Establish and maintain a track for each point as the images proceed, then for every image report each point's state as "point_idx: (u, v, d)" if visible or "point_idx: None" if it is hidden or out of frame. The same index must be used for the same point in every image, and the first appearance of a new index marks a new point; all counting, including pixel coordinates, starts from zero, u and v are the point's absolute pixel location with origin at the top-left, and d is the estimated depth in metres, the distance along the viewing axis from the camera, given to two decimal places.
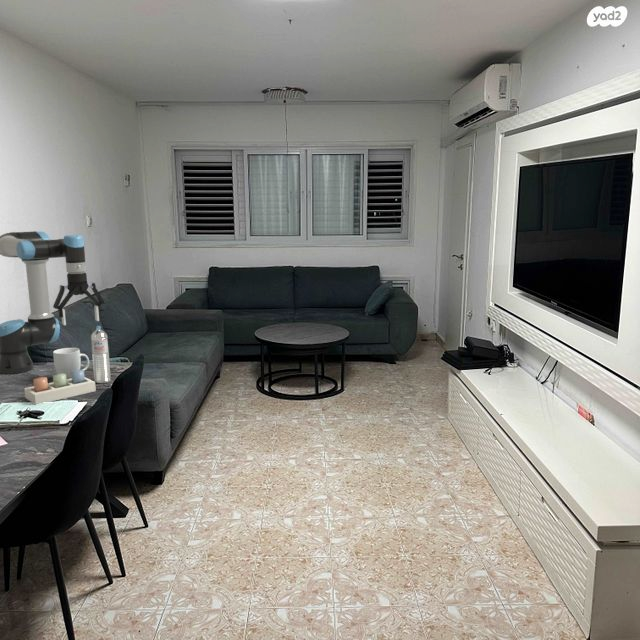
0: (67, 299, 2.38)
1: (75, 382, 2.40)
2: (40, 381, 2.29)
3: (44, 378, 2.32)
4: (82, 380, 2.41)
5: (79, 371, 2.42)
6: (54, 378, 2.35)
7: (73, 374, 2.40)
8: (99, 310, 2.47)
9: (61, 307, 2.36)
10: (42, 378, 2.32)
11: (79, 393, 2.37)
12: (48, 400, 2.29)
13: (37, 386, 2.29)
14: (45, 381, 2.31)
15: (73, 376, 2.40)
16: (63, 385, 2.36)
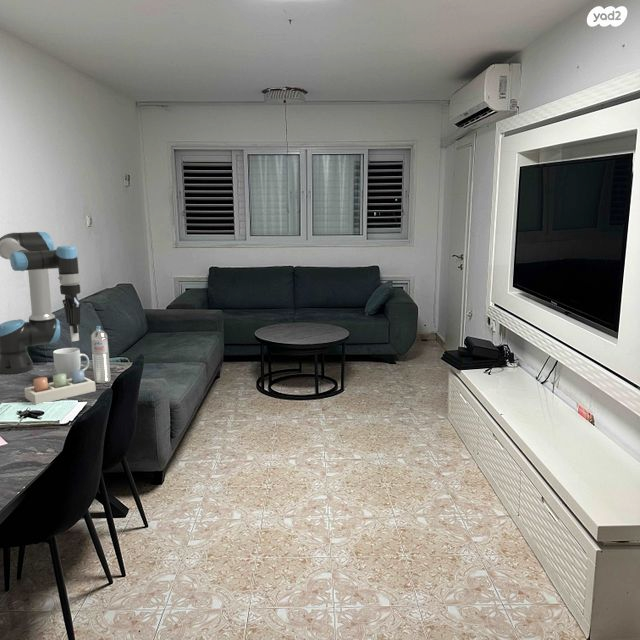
0: (68, 313, 2.37)
1: (75, 382, 2.40)
2: (40, 381, 2.29)
3: (44, 378, 2.32)
4: (82, 380, 2.41)
5: (79, 371, 2.42)
6: (54, 378, 2.35)
7: (73, 374, 2.40)
8: (73, 331, 2.37)
9: (69, 322, 2.38)
10: (42, 378, 2.32)
11: (79, 393, 2.37)
12: (48, 400, 2.29)
13: (37, 386, 2.29)
14: (45, 381, 2.31)
15: (73, 376, 2.40)
16: (63, 385, 2.36)
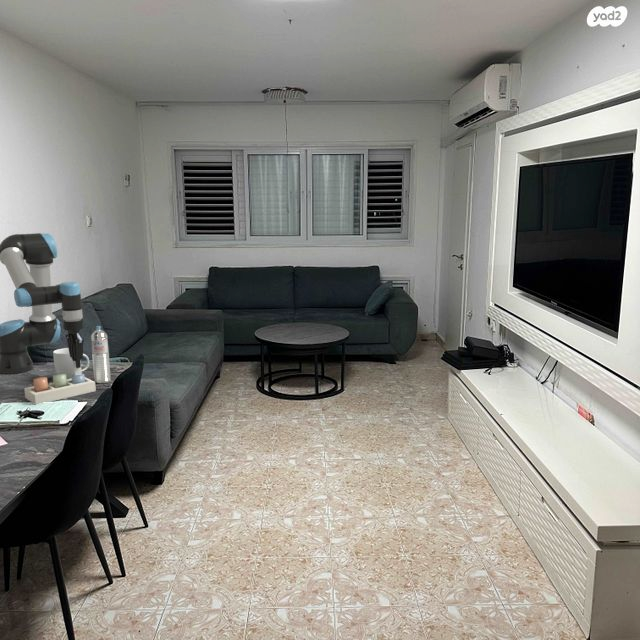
0: (71, 348, 2.40)
1: None
2: (40, 381, 2.29)
3: (44, 378, 2.32)
4: None
5: (79, 375, 2.42)
6: (54, 378, 2.35)
7: (73, 378, 2.40)
8: (76, 365, 2.40)
9: (72, 357, 2.41)
10: (42, 378, 2.32)
11: (79, 393, 2.37)
12: (48, 400, 2.29)
13: (37, 386, 2.29)
14: (45, 381, 2.31)
15: (73, 380, 2.40)
16: (63, 385, 2.36)
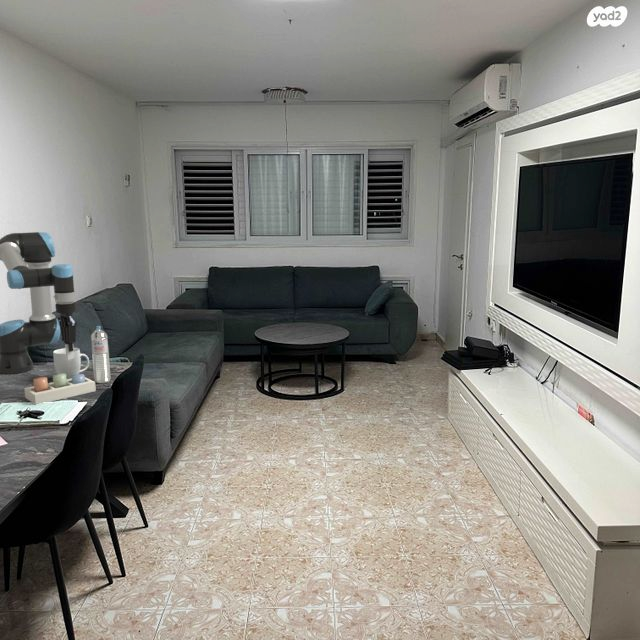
0: (63, 331, 2.37)
1: None
2: (40, 381, 2.29)
3: (44, 378, 2.32)
4: None
5: (79, 375, 2.42)
6: (54, 378, 2.35)
7: (73, 378, 2.40)
8: (69, 349, 2.37)
9: (64, 340, 2.38)
10: (42, 378, 2.32)
11: (79, 393, 2.37)
12: (48, 400, 2.29)
13: (37, 386, 2.29)
14: (45, 381, 2.31)
15: (73, 380, 2.40)
16: (63, 385, 2.36)
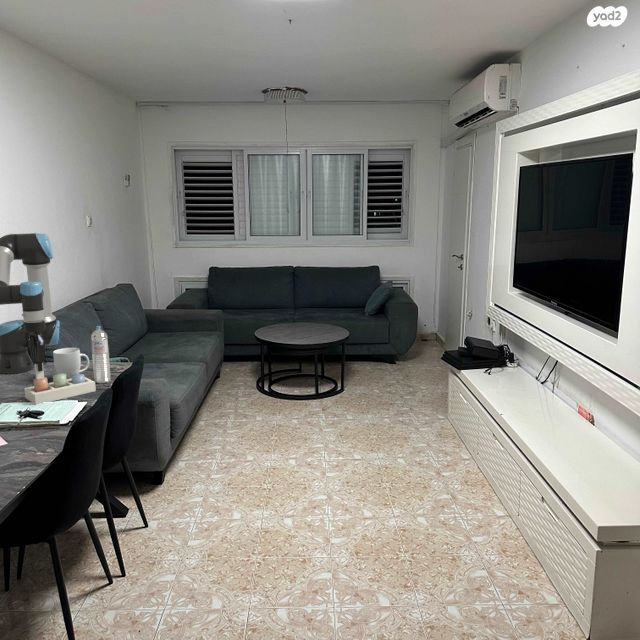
0: (32, 350, 2.29)
1: None
2: (40, 381, 2.29)
3: (44, 378, 2.32)
4: None
5: (79, 375, 2.42)
6: (54, 378, 2.35)
7: (73, 378, 2.40)
8: (38, 369, 2.29)
9: None
10: None
11: (79, 393, 2.37)
12: (48, 400, 2.29)
13: (37, 386, 2.29)
14: (45, 381, 2.31)
15: (73, 380, 2.40)
16: (63, 385, 2.36)
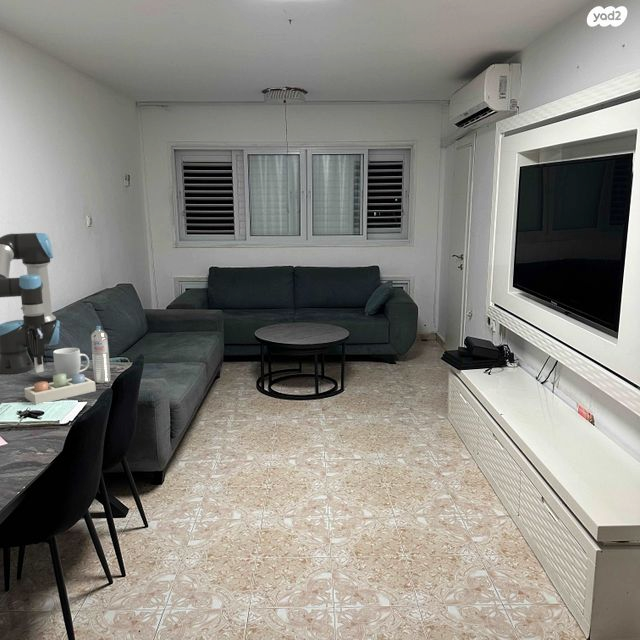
0: (32, 343, 2.29)
1: None
2: (40, 385, 2.30)
3: (44, 382, 2.32)
4: None
5: (79, 375, 2.42)
6: (54, 378, 2.35)
7: (73, 378, 2.40)
8: (38, 362, 2.29)
9: (33, 353, 2.30)
10: (42, 382, 2.32)
11: (79, 393, 2.37)
12: (48, 400, 2.29)
13: (37, 391, 2.30)
14: (45, 385, 2.31)
15: (73, 380, 2.40)
16: (63, 385, 2.36)
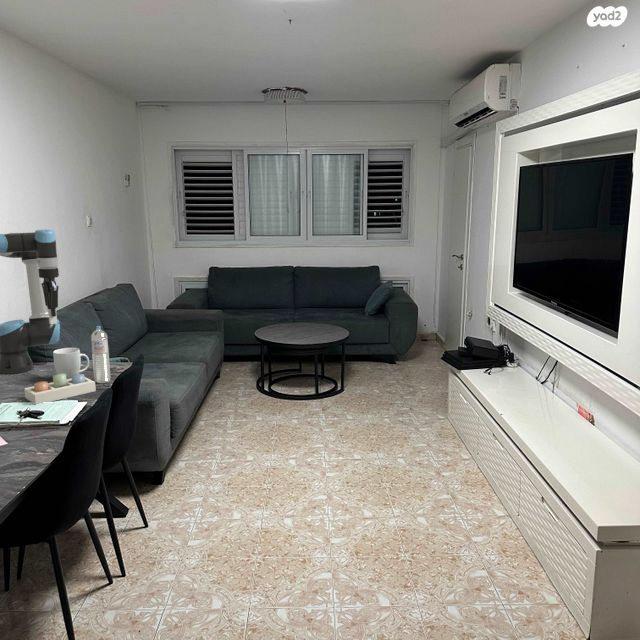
0: (46, 296, 2.40)
1: None
2: (40, 385, 2.30)
3: (44, 382, 2.32)
4: None
5: (79, 375, 2.42)
6: (54, 378, 2.35)
7: (73, 378, 2.40)
8: (51, 314, 2.40)
9: (47, 305, 2.41)
10: (42, 382, 2.32)
11: (79, 393, 2.37)
12: (48, 400, 2.29)
13: (37, 391, 2.30)
14: (45, 385, 2.31)
15: (73, 380, 2.40)
16: (63, 385, 2.36)
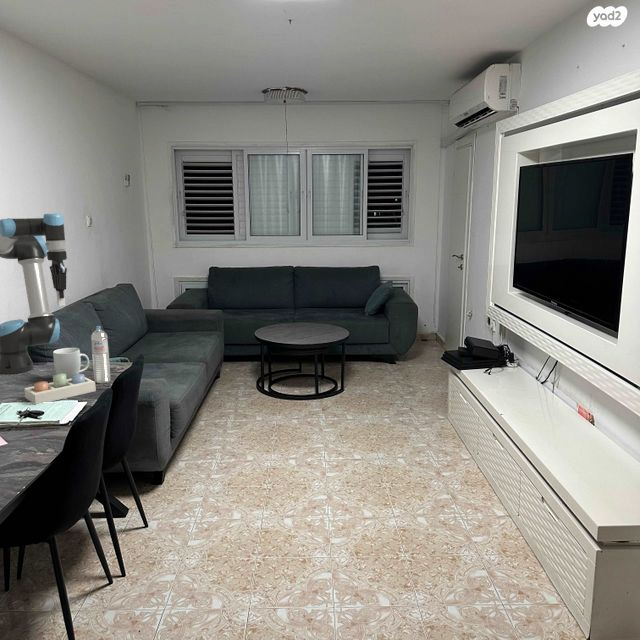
0: (55, 278, 2.46)
1: None
2: (40, 385, 2.30)
3: (44, 382, 2.32)
4: None
5: (79, 375, 2.42)
6: (54, 378, 2.35)
7: (73, 378, 2.40)
8: (60, 296, 2.46)
9: (55, 288, 2.47)
10: (42, 382, 2.32)
11: (79, 393, 2.37)
12: (48, 400, 2.29)
13: (37, 391, 2.30)
14: (45, 385, 2.31)
15: (73, 380, 2.40)
16: (63, 385, 2.36)
